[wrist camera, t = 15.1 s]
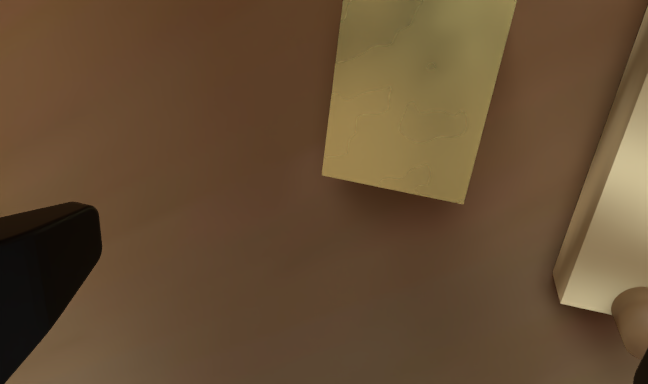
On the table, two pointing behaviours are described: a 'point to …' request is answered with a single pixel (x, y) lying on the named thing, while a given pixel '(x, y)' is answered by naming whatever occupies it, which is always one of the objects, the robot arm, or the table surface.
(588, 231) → the plane body
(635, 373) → the robot arm
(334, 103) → the tan rectangular block
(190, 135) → the table surface
